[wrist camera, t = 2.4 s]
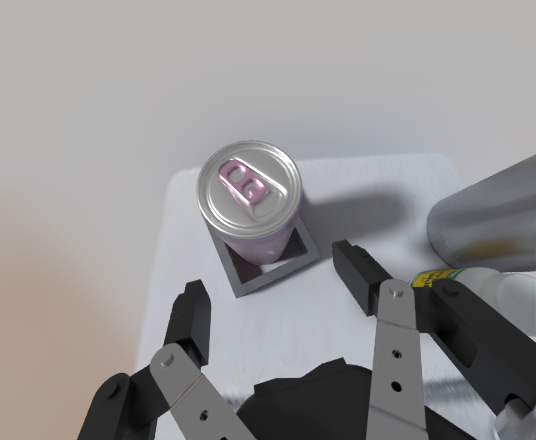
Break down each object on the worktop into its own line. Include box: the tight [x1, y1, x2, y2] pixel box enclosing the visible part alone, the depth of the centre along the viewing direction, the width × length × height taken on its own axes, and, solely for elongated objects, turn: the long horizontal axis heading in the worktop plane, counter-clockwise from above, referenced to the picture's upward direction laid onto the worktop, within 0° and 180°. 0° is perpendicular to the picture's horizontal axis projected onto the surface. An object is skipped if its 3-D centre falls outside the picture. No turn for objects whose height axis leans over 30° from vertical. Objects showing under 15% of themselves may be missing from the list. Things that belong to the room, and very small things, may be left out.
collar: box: [206, 215, 321, 299], centre depth 25 cm, size 10×10×2 cm
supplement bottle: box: [408, 267, 536, 336], centre depth 19 cm, size 5×5×10 cm
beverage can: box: [196, 140, 303, 265], centre depth 19 cm, size 6×6×15 cm
